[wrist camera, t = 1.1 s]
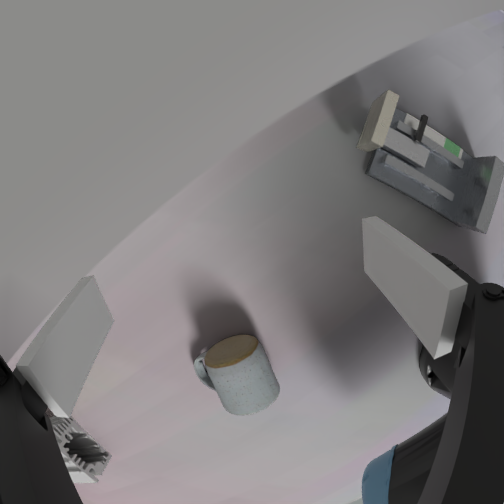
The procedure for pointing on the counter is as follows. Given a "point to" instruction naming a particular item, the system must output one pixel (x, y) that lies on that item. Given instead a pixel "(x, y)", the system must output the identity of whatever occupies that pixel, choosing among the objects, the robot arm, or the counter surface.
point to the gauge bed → (442, 176)
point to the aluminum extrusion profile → (79, 450)
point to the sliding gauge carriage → (392, 132)
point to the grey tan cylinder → (239, 374)
